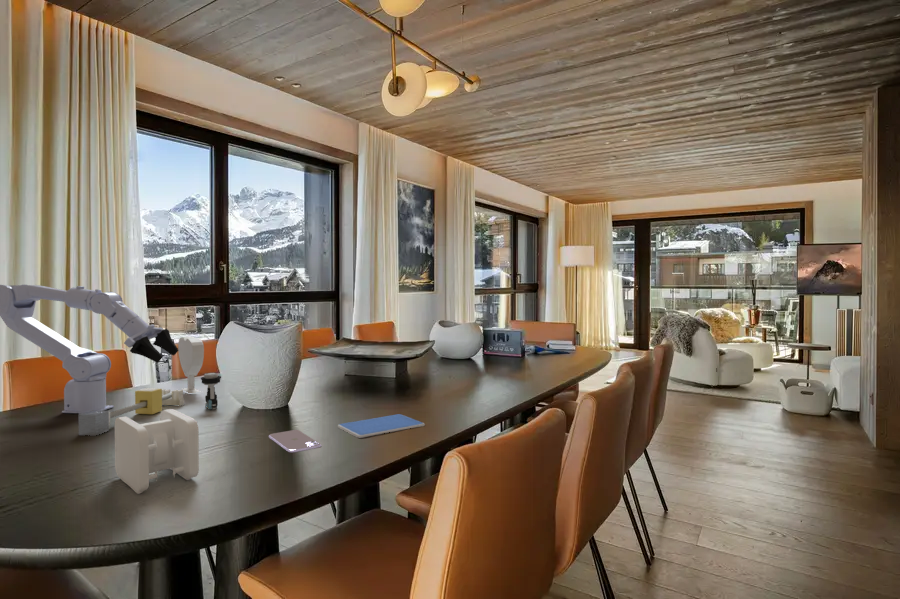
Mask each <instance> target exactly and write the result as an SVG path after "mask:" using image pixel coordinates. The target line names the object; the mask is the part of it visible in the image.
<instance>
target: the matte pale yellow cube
mask: <svg viewBox="0 0 900 599" xmlns="http://www.w3.org/2000/svg"><path fill="white" fill-rule="evenodd" d="M162 390H163V388H158V387H157V388H154V387H153V388H152V387H149V388H148V387H145V388H141V389H138V390H135V391H134V398H135V400H134V405H135V404H138V403H141V402H144V401H147V406H145V407H142V408H139V409H136V410H134V411H135V414H136V415H154V414H157V413H159V412H160V413H161V412H162V411H163V406H162Z"/></svg>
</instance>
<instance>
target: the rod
mask: <svg viewBox="0 0 900 599" xmlns="http://www.w3.org/2000/svg"><path fill="white" fill-rule="evenodd" d="M168 398H172V391H170V393H168V394H165V395H162V401H163V400H165V399H168ZM145 406H147V401H144V402H141V403H138V404H135V403H134V404H132V405H128V406H127V407H126V406H125V407H123V408H120V409H117V410H113V411H110V419H112V418H115V417H118V416H121V415H124V414H127V413H130V412H132V411H135V410H136V409H139V408H142V407H145Z"/></svg>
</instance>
